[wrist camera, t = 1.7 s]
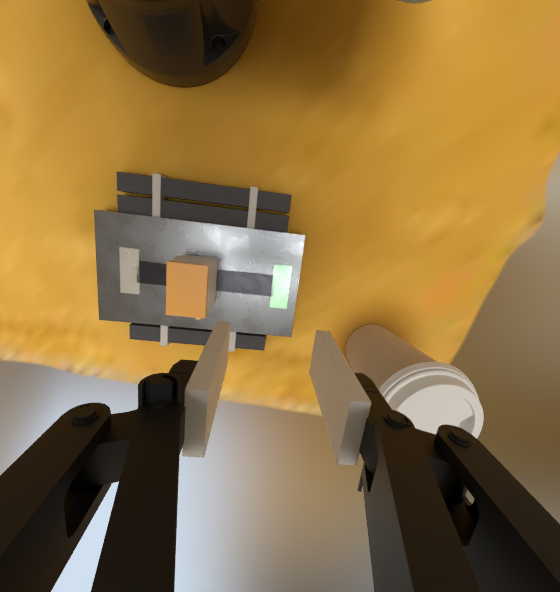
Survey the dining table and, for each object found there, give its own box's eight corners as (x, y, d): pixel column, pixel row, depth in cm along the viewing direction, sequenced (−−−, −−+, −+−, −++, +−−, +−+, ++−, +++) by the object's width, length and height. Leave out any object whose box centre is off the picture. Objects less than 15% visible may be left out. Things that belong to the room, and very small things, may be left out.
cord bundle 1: (125, 171, 30) (115, 168, 28) (290, 193, 32) (291, 191, 30) (125, 215, 31) (116, 215, 29) (285, 234, 33) (286, 235, 31)
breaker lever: (184, 254, 30) (166, 261, 25) (217, 257, 30) (207, 266, 25) (182, 298, 31) (165, 314, 26) (215, 301, 32) (205, 318, 26)
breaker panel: (107, 210, 31) (92, 209, 28) (302, 234, 33) (305, 235, 30) (110, 312, 34) (98, 320, 31) (289, 329, 36) (291, 337, 33)
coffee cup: (339, 385, 38) (384, 483, 24) (329, 321, 36) (373, 388, 21) (406, 371, 38) (493, 461, 24) (401, 306, 36) (494, 363, 21)
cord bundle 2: (136, 316, 34) (128, 322, 32) (265, 328, 36) (266, 334, 34) (136, 336, 35) (129, 342, 33) (263, 347, 36) (263, 354, 34)
